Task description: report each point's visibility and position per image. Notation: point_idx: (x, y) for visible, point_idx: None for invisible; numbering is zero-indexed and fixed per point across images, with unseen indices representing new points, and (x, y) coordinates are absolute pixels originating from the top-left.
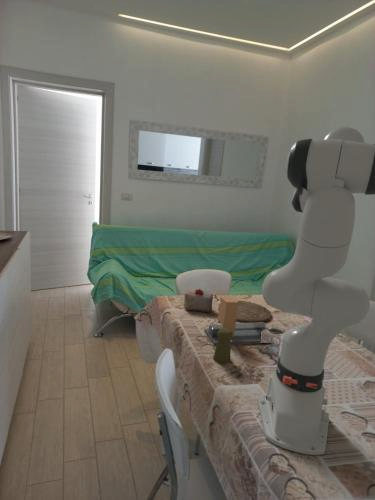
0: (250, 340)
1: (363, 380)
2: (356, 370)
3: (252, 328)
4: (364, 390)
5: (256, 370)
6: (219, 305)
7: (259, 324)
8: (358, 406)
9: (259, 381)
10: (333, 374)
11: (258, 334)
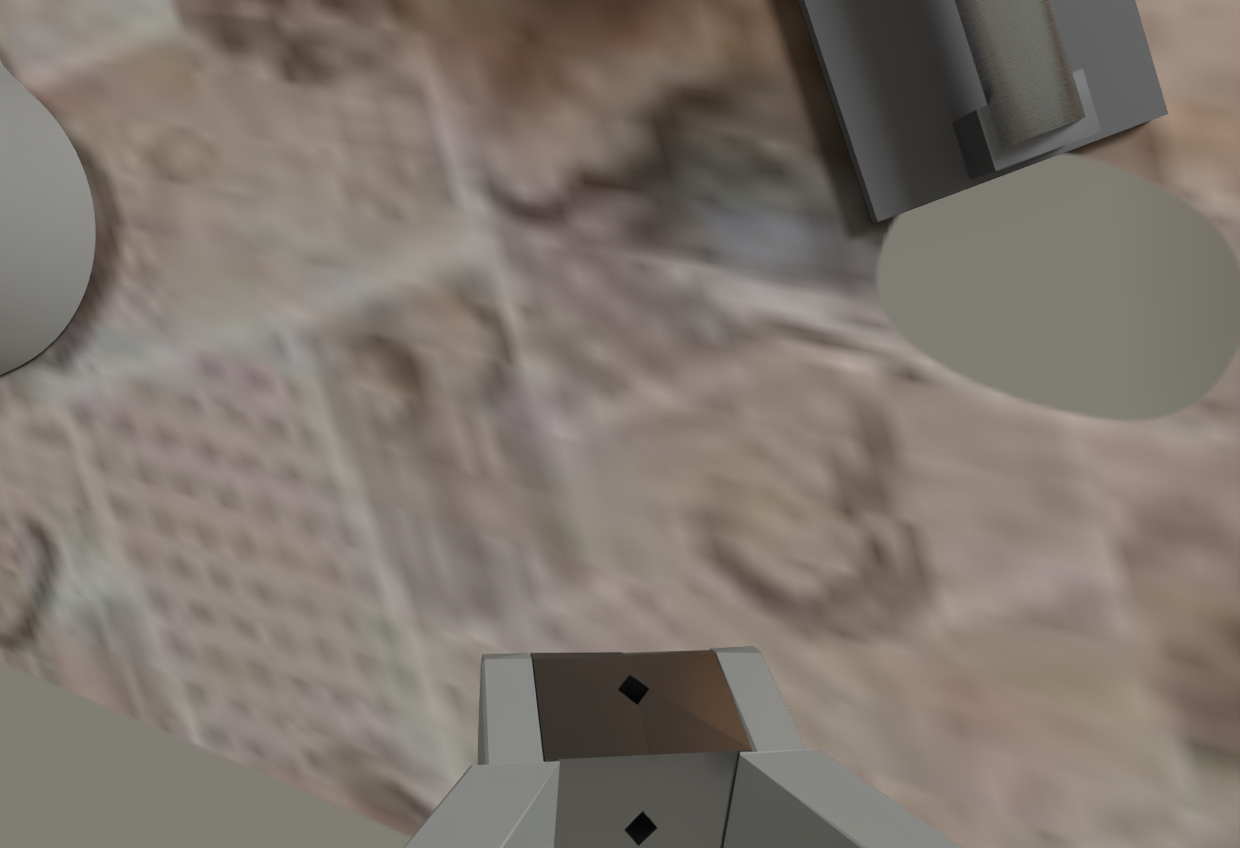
0: (820, 5)
1: None
2: None
3: (957, 2)
4: (321, 763)
5: (356, 32)
6: None
7: (1009, 72)
8: (129, 652)
9: (211, 41)
10: (469, 624)
11: (983, 101)
